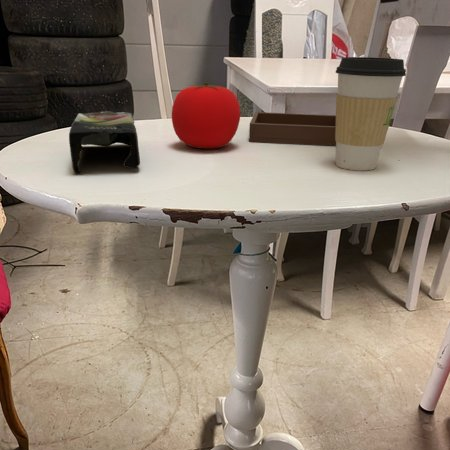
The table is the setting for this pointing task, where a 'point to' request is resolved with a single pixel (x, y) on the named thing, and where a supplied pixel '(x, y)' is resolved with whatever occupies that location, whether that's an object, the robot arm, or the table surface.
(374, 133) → the coffee cup
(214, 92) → the tomato
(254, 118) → the serving tray
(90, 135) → the black box
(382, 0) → the robot arm
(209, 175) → the table surface
